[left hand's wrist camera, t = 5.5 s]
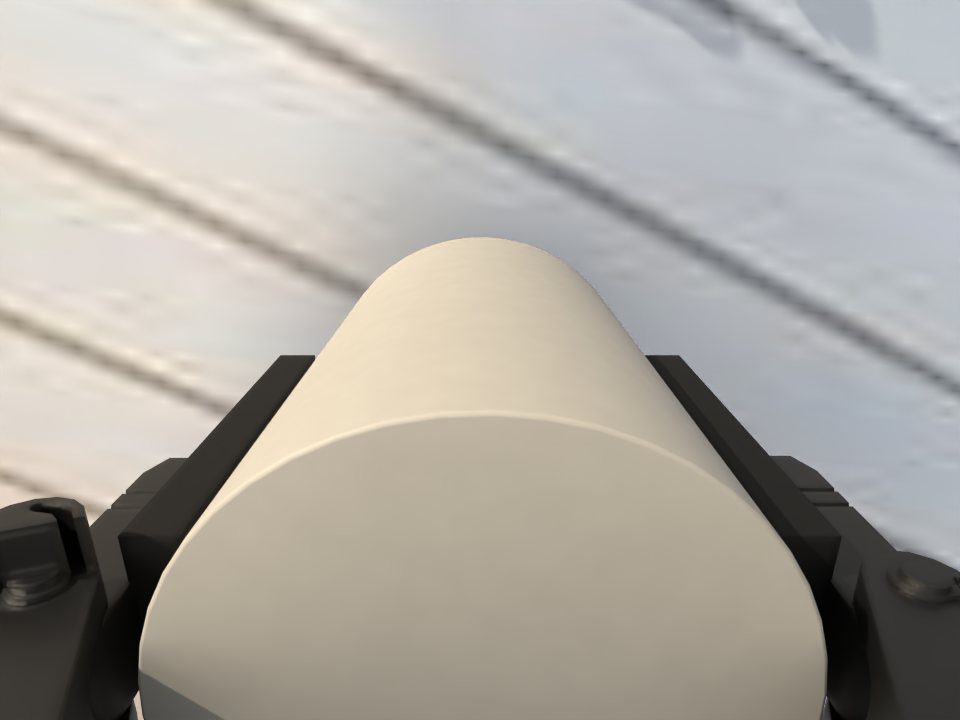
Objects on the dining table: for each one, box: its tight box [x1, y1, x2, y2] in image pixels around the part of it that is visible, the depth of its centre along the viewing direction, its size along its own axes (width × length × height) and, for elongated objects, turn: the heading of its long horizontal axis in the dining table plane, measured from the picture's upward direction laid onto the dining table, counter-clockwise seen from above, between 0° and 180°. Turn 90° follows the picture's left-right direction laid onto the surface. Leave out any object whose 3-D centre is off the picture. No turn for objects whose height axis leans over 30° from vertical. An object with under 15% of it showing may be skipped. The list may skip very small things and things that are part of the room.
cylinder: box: [138, 237, 828, 720], centre depth 11 cm, size 7×7×10 cm
